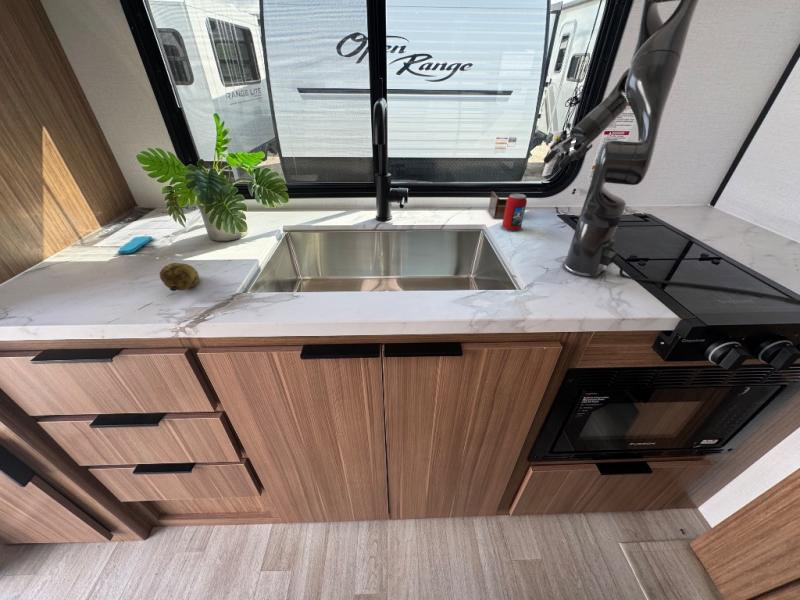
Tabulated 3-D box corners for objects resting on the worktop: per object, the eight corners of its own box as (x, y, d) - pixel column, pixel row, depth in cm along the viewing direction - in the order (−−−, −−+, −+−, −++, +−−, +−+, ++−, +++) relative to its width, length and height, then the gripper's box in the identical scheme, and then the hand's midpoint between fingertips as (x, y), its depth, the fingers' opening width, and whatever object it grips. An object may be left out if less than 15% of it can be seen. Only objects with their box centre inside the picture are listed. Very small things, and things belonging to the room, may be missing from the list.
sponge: (110, 251, 100) (129, 249, 100) (134, 236, 110) (151, 234, 109) (113, 256, 100) (131, 253, 100) (137, 240, 110) (153, 238, 110)
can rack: (511, 210, 136) (515, 191, 131) (518, 218, 128) (522, 198, 123) (488, 210, 136) (491, 191, 131) (494, 218, 128) (497, 198, 123)
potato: (212, 274, 90) (202, 248, 85) (192, 300, 79) (180, 271, 75) (181, 276, 89) (169, 249, 85) (156, 302, 78) (142, 273, 74)
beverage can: (516, 233, 115) (524, 199, 108) (498, 228, 119) (504, 196, 112) (523, 227, 120) (530, 195, 113) (506, 223, 123) (512, 191, 116)
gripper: (573, 114, 109) (535, 152, 113) (604, 118, 97) (560, 159, 102) (582, 132, 113) (545, 167, 117) (613, 137, 101) (570, 176, 106)
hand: (552, 164), depth 109 cm, fingers open, 8 cm apart
